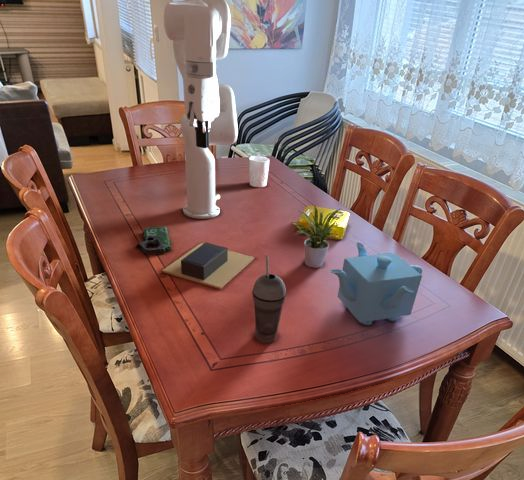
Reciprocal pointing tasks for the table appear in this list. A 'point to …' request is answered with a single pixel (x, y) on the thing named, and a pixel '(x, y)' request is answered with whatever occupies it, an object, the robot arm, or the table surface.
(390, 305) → the teakettle
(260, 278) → the beverage cup
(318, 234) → the house plant
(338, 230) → the yellow package
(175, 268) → the cork mat
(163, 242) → the gun
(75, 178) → the table surface
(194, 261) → the black device
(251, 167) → the white cup
